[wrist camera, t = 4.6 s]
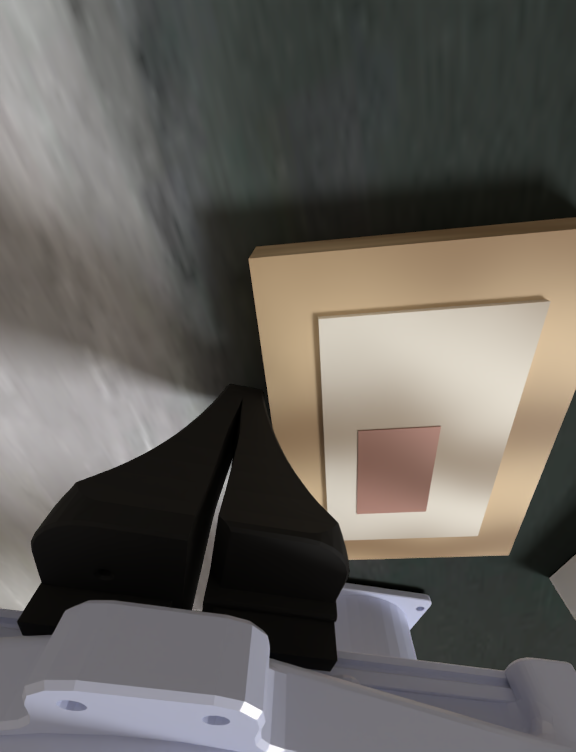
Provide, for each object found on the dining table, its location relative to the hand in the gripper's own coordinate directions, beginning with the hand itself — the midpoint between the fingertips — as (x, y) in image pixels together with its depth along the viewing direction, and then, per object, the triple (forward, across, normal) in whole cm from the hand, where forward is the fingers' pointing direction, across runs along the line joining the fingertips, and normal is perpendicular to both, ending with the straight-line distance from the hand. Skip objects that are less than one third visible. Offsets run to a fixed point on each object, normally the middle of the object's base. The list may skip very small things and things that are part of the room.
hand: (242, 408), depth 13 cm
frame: (+2, -6, 0) cm, 7 cm away
